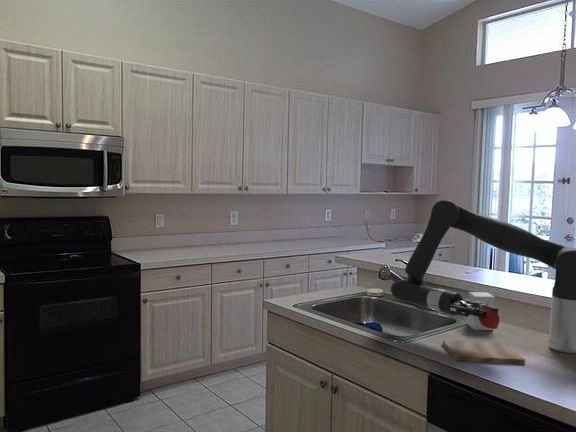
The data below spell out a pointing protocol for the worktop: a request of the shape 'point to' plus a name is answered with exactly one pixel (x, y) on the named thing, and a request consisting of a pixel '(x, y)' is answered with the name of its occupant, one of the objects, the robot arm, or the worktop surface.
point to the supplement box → (486, 298)
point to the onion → (489, 318)
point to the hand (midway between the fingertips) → (491, 313)
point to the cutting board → (482, 352)
